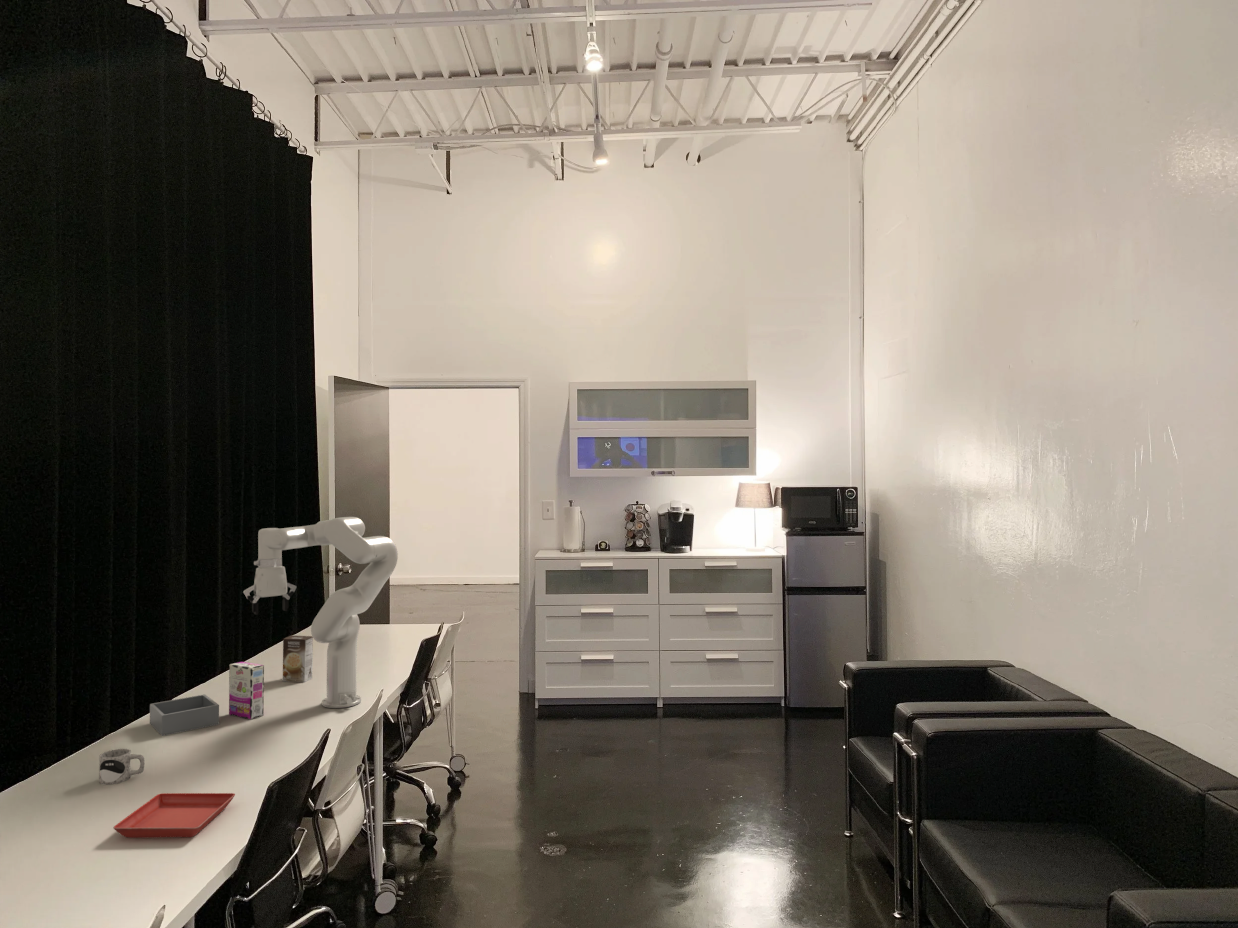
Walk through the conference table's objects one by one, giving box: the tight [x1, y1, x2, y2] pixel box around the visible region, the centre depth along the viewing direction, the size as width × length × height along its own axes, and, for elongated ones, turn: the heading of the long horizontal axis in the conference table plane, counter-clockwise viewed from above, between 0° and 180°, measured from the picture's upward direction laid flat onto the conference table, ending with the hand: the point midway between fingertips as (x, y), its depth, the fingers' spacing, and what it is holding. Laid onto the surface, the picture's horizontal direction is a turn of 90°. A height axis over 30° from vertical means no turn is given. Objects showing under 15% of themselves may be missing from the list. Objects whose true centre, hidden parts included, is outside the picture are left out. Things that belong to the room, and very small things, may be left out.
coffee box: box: [282, 634, 314, 683], centre depth 292 cm, size 9×6×16 cm
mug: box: [98, 748, 145, 785], centre depth 198 cm, size 10×7×7 cm
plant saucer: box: [113, 792, 236, 839], centre depth 173 cm, size 18×18×3 cm
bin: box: [149, 694, 220, 737], centre depth 241 cm, size 16×16×6 cm
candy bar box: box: [228, 661, 265, 720], centre depth 249 cm, size 11×5×16 cm, turn 62°
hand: (270, 612), depth 271 cm, fingers open, 9 cm apart
